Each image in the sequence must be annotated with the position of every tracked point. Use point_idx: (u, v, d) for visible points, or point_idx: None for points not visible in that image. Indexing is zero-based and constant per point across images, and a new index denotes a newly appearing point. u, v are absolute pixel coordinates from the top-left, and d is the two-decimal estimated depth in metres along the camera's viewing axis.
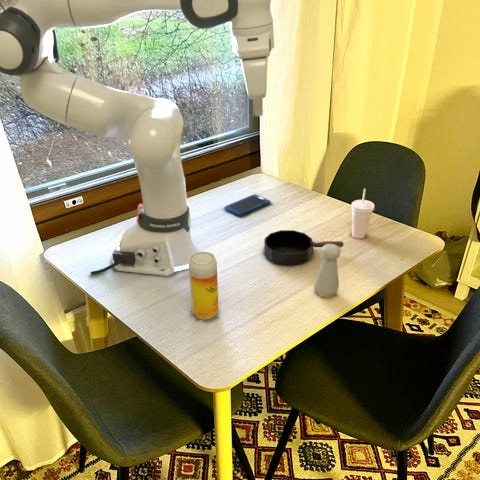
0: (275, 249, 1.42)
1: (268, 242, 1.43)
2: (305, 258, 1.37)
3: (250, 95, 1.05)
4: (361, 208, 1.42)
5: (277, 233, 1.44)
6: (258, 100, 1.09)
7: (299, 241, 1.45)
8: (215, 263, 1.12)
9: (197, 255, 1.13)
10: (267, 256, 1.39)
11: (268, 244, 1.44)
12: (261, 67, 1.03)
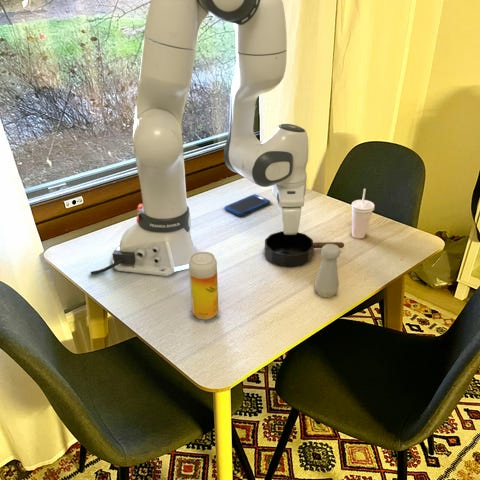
0: (275, 250, 1.42)
1: (268, 244, 1.43)
2: (306, 259, 1.37)
3: (285, 233, 1.35)
4: (361, 208, 1.42)
5: (277, 234, 1.44)
6: None
7: (299, 242, 1.45)
8: (215, 263, 1.12)
9: (197, 255, 1.13)
10: (268, 257, 1.39)
11: (268, 245, 1.43)
12: (296, 214, 1.32)
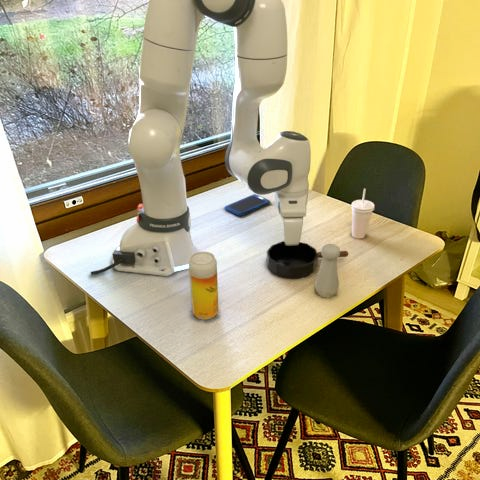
0: (278, 261, 1.37)
1: (270, 255, 1.38)
2: (311, 270, 1.32)
3: (286, 243, 1.31)
4: (361, 208, 1.42)
5: (279, 244, 1.39)
6: None
7: (301, 252, 1.41)
8: (215, 263, 1.12)
9: (197, 255, 1.13)
10: (271, 269, 1.34)
11: (270, 256, 1.38)
12: (298, 225, 1.28)
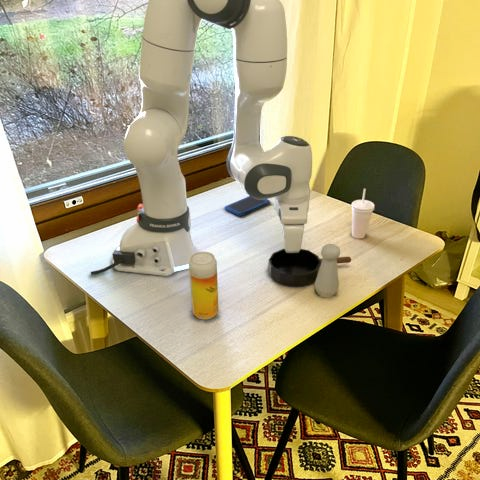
0: (280, 269, 1.34)
1: (272, 263, 1.35)
2: (315, 277, 1.30)
3: (287, 251, 1.28)
4: (361, 208, 1.42)
5: (280, 252, 1.36)
6: None
7: (303, 258, 1.38)
8: (215, 263, 1.12)
9: (197, 255, 1.13)
10: (274, 278, 1.31)
11: (272, 264, 1.35)
12: (298, 232, 1.25)
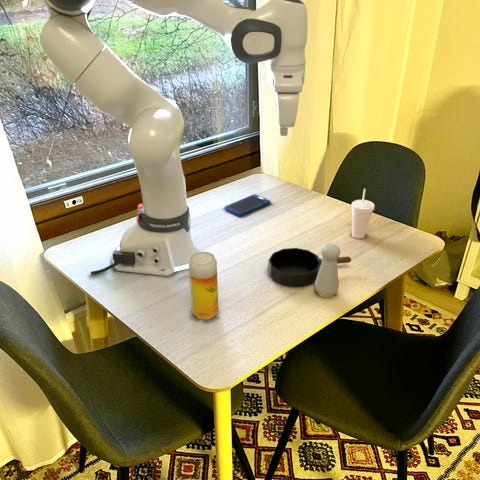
0: (280, 269, 1.34)
1: (272, 263, 1.35)
2: (315, 277, 1.30)
3: (281, 124, 1.21)
4: (361, 208, 1.42)
5: (280, 252, 1.36)
6: None
7: (303, 258, 1.38)
8: (215, 263, 1.12)
9: (197, 255, 1.13)
10: (274, 278, 1.31)
11: (272, 264, 1.35)
12: (293, 101, 1.18)
